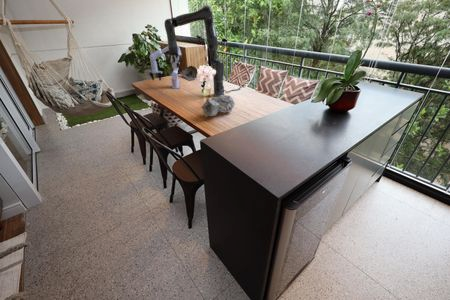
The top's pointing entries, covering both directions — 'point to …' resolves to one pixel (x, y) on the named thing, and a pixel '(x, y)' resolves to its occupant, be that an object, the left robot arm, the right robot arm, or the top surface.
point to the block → (174, 65)
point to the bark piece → (189, 73)
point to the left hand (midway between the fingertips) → (156, 80)
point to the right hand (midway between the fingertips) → (175, 67)
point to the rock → (218, 105)
